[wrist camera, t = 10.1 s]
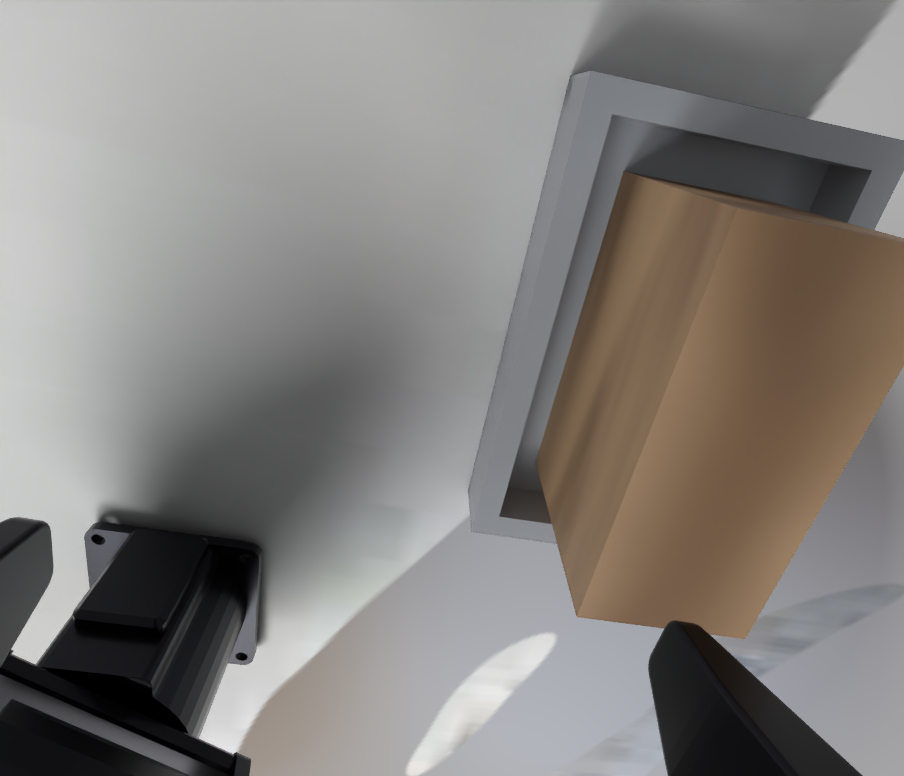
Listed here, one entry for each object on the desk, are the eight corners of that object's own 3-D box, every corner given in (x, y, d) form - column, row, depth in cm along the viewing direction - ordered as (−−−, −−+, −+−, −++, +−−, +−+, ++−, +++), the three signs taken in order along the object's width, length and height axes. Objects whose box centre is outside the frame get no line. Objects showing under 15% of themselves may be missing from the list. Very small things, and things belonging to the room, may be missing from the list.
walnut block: (769, 201, 17) (967, 256, 10) (654, 480, 21) (744, 638, 15) (623, 170, 16) (737, 208, 10) (535, 462, 21) (576, 617, 14)
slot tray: (681, 521, 23) (707, 565, 20) (468, 490, 22) (471, 531, 20) (855, 139, 17) (917, 143, 14) (570, 75, 16) (591, 70, 14)
